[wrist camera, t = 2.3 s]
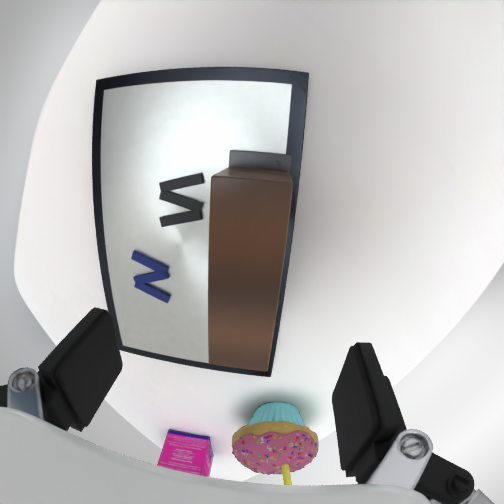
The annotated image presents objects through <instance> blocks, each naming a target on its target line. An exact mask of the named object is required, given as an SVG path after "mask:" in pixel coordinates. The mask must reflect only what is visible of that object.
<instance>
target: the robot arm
mask: <svg viewBox="0 0 504 504" xmlns="http://www.w3.org/2000/svg"><path fill="white" fill-rule="evenodd" d="M122 366H123V364H122V359H121V355H120V351H119V347H118V343H117V339H116V334H115V330H114V325H113V320H112V316H111V315H110V314H109V312H108V311H107V310H104V309H99V308H93V309H92V310H91V311H90V312H89V313H88V314H87V315H86V316H85V317H84V318H83V319H82V320H81V321H80V322H79V323H78V324H77V325H76V326H75V327H74V328H73V329H72V330H71V332H70V333H69V334H68V335H67V336H66V337H65V338H64V339H63V340H62V341H61V342H60V343H59V344H58V345H57V347H56V348H55V349H54V350H53V351H52V352H51V353H50V355H48V357H47V358H46V359H45V360H44V361H43V363H42V364H40V366H39V367H38V368H39V372H38V373H37V372H36V371H35V370H34V369H32V368H28V367H27V368H20V369H18V370H16V371H14V372H13V373H12V374H11V376H10V377H9V380H8V384H7V385H3V386H0V504H494V503H493V502H492V501H491V500H490V499H489V498H488V497H487V496H486V495H484V494H483V493H482V492H481V491H480V490H479V489H478V490H477V491H475V490H474V480H473V477H472V475H471V474H470V473H469V472H468V471H466V470H465V469H462V468H461V467H459V466H457V465H455V464H453V463H451V462H449V461H447V460H445V459H443V458H442V457H440V456H438V455H436V454H434V453H432V450H433V444H432V441H431V440H430V438H429V437H428V435H427V434H425V433H424V432H422V431H420V430H415V429H410V430H407V429H406V426H405V423H404V420H403V417H402V414H401V411H400V408H399V406H398V403H397V400H396V397H395V394H394V392H393V389H392V386H391V383H390V381H389V379H388V377H387V376H384V375H383V372H382V370H381V367H380V364H379V362H378V359H377V356H376V354H375V351H374V349H373V346H372V344H371V343H358V342H357V343H356V344H355V345H354V346H351V347H350V348H349V351H348V354H347V357H346V360H345V363H344V365H343V368H342V371H341V373H340V376H339V379H338V381H337V384H336V386H335V389H334V391H333V395H332V404H333V410H334V417H335V424H336V432H337V439H338V447H339V455H340V464H341V469H342V470H345V471H346V477H353V476H356V481H357V482H358V484H352V485H321V486H301V485H300V486H298V485H271V484H258V483H248V482H239V481H231V480H224V479H218V478H212V477H206V476H200V475H195V474H190V473H186V472H181V471H177V470H173V469H169V468H165V467H161V466H158V465H154V464H151V463H147V462H144V461H141V460H137V459H134V458H131V457H128V456H125V455H122V454H119V453H117V452H114V451H111V450H109V449H106V448H103V447H101V446H98V445H96V444H94V443H91V442H89V441H86V440H84V439H82V438H80V437H77V436H75V435H73V434H71V433H69V432H68V429H69V427H70V426H71V427H72V428H74V429H76V430H78V431H80V432H81V431H82V430H83V428H84V427H87V426H88V425H89V424H90V422H91V420H92V418H93V417H94V415H95V413H96V411H97V410H98V408H99V407H100V405H101V403H102V401H103V400H104V398H105V396H106V395H107V393H108V392H109V390H110V388H111V387H112V385H113V383H114V382H115V380H116V378H117V377H118V375H119V374H120V372H121V370H122Z"/></svg>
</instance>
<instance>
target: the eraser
mask: <svg viewBox="0 0 504 504" xmlns="http://www.w3.org/2000/svg"><path fill="white" fill-rule="evenodd" d="M290 165H291V155H290V154H280V153H270V152H259V151H246V150H230V153H229V167H228V168H226V169H224V170H222V171H220V172H218V173H216V174H214V175H212V176H211V189H210V214H209V249H208V357H209V364H213V365H220V366H227V367H234V368H241V369H249V370H258V371H267V370H268V365H269V359H270V353H271V347H272V340H273V334H274V327H275V321H276V314H277V307H278V300H279V293H280V286H281V279H282V271H283V264H284V256H285V248H286V240H287V232H288V224H289V216H290V207H291V198H292V189H293V183H292V179H291V176H290Z"/></svg>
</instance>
